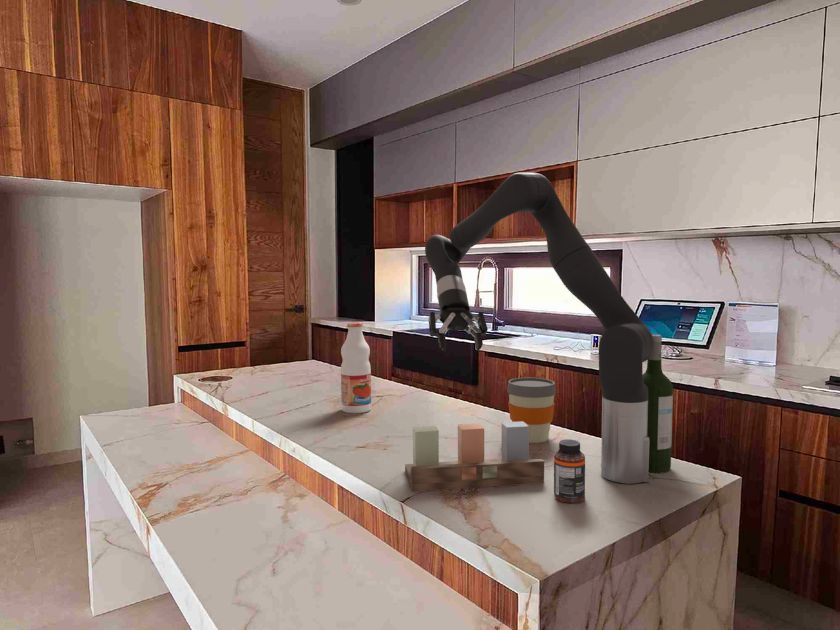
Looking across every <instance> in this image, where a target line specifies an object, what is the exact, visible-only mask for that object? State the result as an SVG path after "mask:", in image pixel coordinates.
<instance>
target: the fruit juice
mask: <svg viewBox="0 0 840 630" xmlns="http://www.w3.org/2000/svg"><path fill="white" fill-rule="evenodd" d="M363 327H364V324H363V322H357V321H356V322H355V321H354V322H353V321H352V322H348V323H347V324H346V328H347V330H348V331H347V335H346V339H345V341H344V343H343V344H342V346H341V349H340V354H341V358H342V363H341V365H340V378H341V379H340V381H341V382H340V385H341V386H340V387H341V410H342V412H343V413H347V414H362V413H363V414H364V413H367V412H370V411H371V410H372V377H371V376H372V372H371V371H372V368H371V367H372V366H371V362H370V360H369V359H370V353H371V350H370V349H371V348H370V346H369V344H368V343H367V340H366V339H365V336H364V334H363Z"/></svg>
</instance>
